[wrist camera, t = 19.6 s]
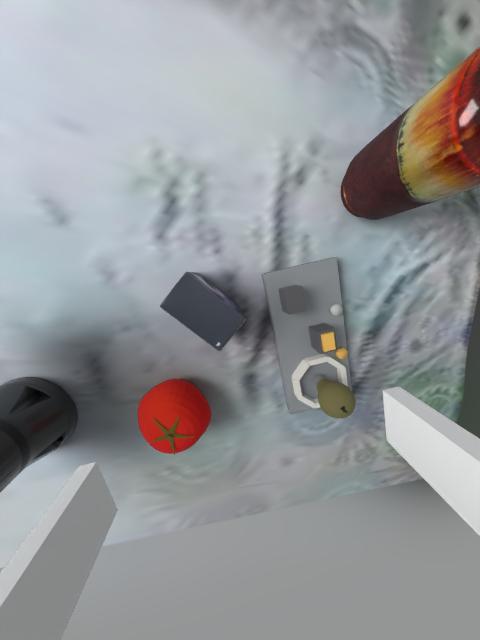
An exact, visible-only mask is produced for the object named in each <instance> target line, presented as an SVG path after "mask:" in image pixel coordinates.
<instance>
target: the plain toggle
mask: <svg viewBox="0 0 480 640" xmlns="http://www.w3.org/2000/svg"><path fill="white" fill-rule="evenodd" d="M279 295H280V301H281V306H282V311H283V312H285V313H287V314H288V315H290V314H294V313H299V312H303V311H307V310H306V303H305V297H304V290H303V286H299V285H292V286H288V287H283V288H279Z"/></svg>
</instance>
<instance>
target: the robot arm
mask: <svg viewBox="0 0 480 640" xmlns="http://www.w3.org/2000/svg"><path fill="white" fill-rule="evenodd" d="M383 400H384V412H385V424H386V437H387V441H388V442H389V443H390V444H391V445H392V446H393V447H394V448H395V450H396V451H397V452H398V453H399V454H400V455H401V456H402V457H403V458H404V459H405V460H406V461H407V462H408V463H409V464H410V465H411V466H412V467H413V468H414V469H415V470H416V471H417V472H418V473H419V474H420V475H421V476H422V477H423V478H424V479H425V480H426V481H427V482H428V483H429V484H430V485H431V486H432V487H433V488H434V489H435V491H436V492H437V493H438V494H439V495H440V496H441V497H442V498H443V499H444V500H445V501H446V502H447V503H448V504H449V505H450V506H451V507H452V508H453V509H454V510H455V511H456V512H457V513H458V514H459V515H460V516H461V517H462V518H463V519H464V520H465V521H466V522H467V523H468V524H469V525H470V526H471V527H472V528H473V530H475V532H476V533H477V534H478V535H480V439H479V438H477V437H476V436H474V435H473V434H471V433H470V432H468V431H466V430H465V429H463V428H462V427H460V426H459V425H457V424H456V423H454V422H453V421H451V420H450V419H448V418H447V417H445V416H444V415H442V414H440V413H439V412H437V411H436V410H434V409H433V408H431V407H430V406H428V405H427V404H425V403H424V402H422V401H420V400H419V399H417V398H416V397H414V396H413V395H411V394H410V393H408V392H407V391H405V390H404V389H402V388H400V387H394V388H390V389H386V390H383ZM76 423H77V412H76V408H75V405H74V403H73V401H72V400H71V398H70V397H69V396H68V394H67V393H66V392H65V391H64V390H62V389H61V388H60V387H58V386H57V385H55V384H53V383H51V382H49V381H46V380H43V379H39V378H31V377H25V378H18V379H14V380H11V381H9V382H7V383H5V384H3V385H1V386H0V492H1V491H2V490H3V489H4V488H5V487H6V486H7V485H8V484H9V483H10V482H11V481H12V480H13V479H14V478H15V477H16V476H17V475H18V474H19V473H20V472H21V471H22V470H23V469H24V468H26V467H27V466H29V465H31V464H32V463H34V462H36V461H37V460H39V459H41V458H43V457H44V456H46V455H48V454H49V453H51V452H53V451H54V450H56V449H57V448H58V447H60V446H61V445H62V444H63V443H64V442H65V441H66V440H67V439H68V438H69V436H70V435H71V434H72V433H73V431H74V429H75V427H76ZM117 510H118V509H117V507H116V504H115V502H114V500H113V498H112V496H111V493H110V491H109V489H108V487H107V484H106V482H105V480H104V478H103V476H102V473H101V471H100V469H99V467H98V465H97V462H94V463H90V464H86V465H82V466H79V467H78V468H77V469H76V471H75V472H74V473H73V475H72V476H71V478H70V479H69V480H68V482H67V483H66V484H65V486H64V487H63V488H62V490H61V491H60V493H59V494H58V495H57V497H56V498H55V499H54V501H53V502H52V503H51V505H50V506H49V507H48V509H47V510H46V512H45V513H44V514H43V516H42V517H41V518H40V520H39V521H38V522H37V524H36V525H35V526H34V528H33V529H32V531H31V532H30V533H29V535H28V536H27V537H26V539H25V540H24V541H23V543H22V544H21V545H20V547H19V548H18V550H17V551H16V552H15V554H14V555H13V556H12V558H11V559H10V560H9V562H8V563H7V564H6V566H5V567H4V569H3V570H2V571H1V573H0V640H61V638H62V636H63V633H64V631H65V629H66V627H67V624H68V622H69V620H70V617H71V615H72V613H73V611H74V608H75V606H76V604H77V601H78V599H79V597H80V595H81V592H82V590H83V588H84V586H85V583H86V581H87V578H88V576H89V574H90V572H91V569H92V567H93V565H94V563H95V560H96V558H97V556H98V553H99V551H100V549H101V547H102V544H103V542H104V540H105V538H106V535H107V533H108V531H109V528H110V526H111V524H112V522H113V519H114V517H115V515H116V513H117Z"/></svg>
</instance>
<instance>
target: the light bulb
mask: <svg viewBox="0 0 480 640" xmlns="http://www.w3.org/2000/svg"><path fill="white" fill-rule="evenodd" d="M313 382H314V384H315V386H316V387H317V391H318V402H319V405H320V407H321V408H322V410H323V411H324V412H325V413H326V414H328V415H329V416H331V417H334V418H345V417H347V416H349V415H350V414H351V413H352V412H353V410H354V408H355V397H354V394H353V392H352V391H351V390H350V388H349V387H347V386H346V385H345V384H343V383H340V382H336V381H331V380H329V379H326V378H325V377H324V376H323V375H317V376H316V377H315V378H314V380H313Z"/></svg>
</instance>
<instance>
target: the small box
mask: <svg viewBox="0 0 480 640" xmlns="http://www.w3.org/2000/svg"><path fill="white" fill-rule="evenodd" d="M160 307H161V308H162V309H163V310H165V311H166V312H167V313H169V314H170V315H171V316H173V317H174V318H175V319H177V320H178V321H179V322H181V323H182V324H183V325H185V326H186V327H187V328H189V329H190V330H191V331H193V332H194V333H195V334H197V335H198V336H199V337H201V338H202V339H203V340H205V341H206V342H207V343H209V344H210V345H211V346H213V347H214V348H215V349H217V350H218V351H221V350H222V348H223V347H224V346H225V345H226V344H227V342H228V341H229V340H230V339H231V338H232V336H233V335H234V334H235V333H236V332H237V330H238V329H239V328H240V327H241V326H242V324H243V323H244V322H245V321H246V319H245V317H244V316H243V314H242V312H241V310H240V308H239V307H238V306H237V305H236V304H235V303H233V302H232V301H231V300H230V299H229V298H227V297H226V296H225V295H224V294H223V293H221V292H220V291H219V290H218V289H217V288H215V287H214V286H213V285H212V284H210V283H209V282H208V281H207V280H205V279H204V278H203V277H202V276H200V275H199V274H197V273H193V272H186V273H185V274H184V275H183V276H182V278H181V279H180V280H179V281H178V283H177V284H176V285H175V286H174V288H173V289H172V290H171V292H170V293H169V294H168V296H167V297H166V298H165V299H164V301H163V302H162V303H161V305H160Z"/></svg>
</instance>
